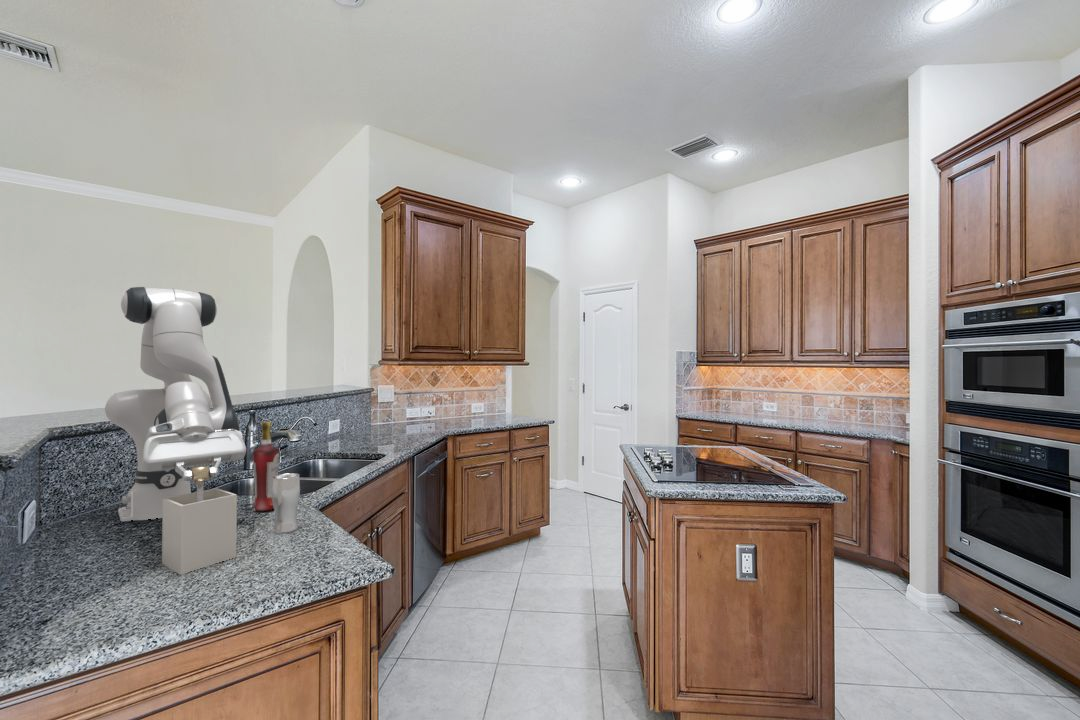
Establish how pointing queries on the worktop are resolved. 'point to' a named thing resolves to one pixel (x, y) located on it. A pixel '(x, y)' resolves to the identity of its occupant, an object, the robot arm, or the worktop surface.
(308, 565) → the worktop surface
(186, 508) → the beige open box
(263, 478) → the liquor
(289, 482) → the beer glass
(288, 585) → the worktop surface
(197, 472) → the plunger
